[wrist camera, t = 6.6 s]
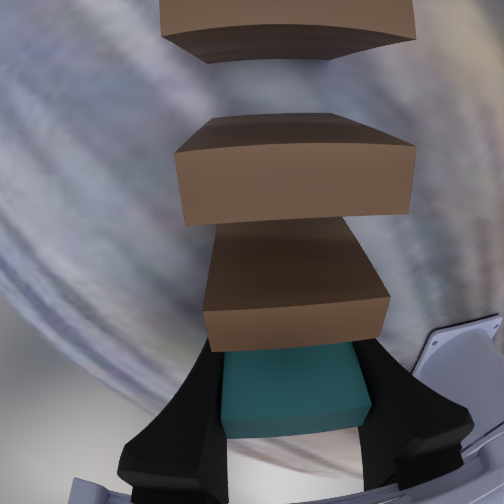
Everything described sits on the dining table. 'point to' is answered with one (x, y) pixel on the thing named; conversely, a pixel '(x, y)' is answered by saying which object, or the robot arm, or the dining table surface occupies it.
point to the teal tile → (292, 391)
